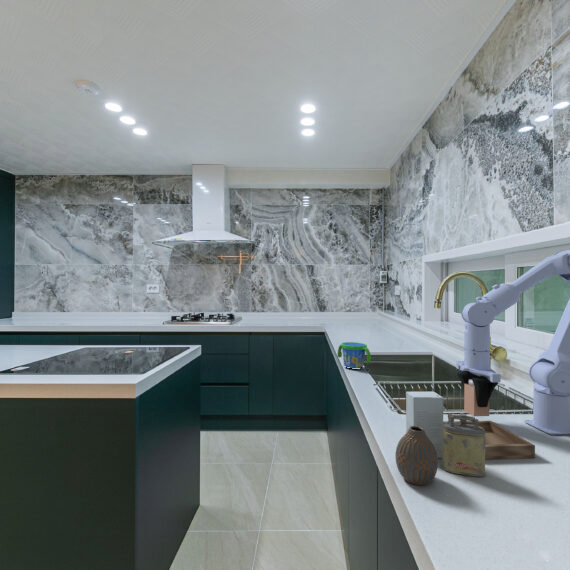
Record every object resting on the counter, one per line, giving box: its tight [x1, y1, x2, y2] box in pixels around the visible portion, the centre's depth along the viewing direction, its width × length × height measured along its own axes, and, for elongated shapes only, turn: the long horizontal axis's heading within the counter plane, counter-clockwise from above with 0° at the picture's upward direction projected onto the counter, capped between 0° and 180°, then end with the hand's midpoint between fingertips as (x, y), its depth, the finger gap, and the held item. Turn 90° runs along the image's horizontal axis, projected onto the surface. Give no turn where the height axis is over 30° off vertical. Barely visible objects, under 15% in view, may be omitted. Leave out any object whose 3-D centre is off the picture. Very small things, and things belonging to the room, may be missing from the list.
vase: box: [395, 426, 439, 486], centre depth 61 cm, size 7×7×9 cm
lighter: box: [441, 413, 486, 478], centre depth 63 cm, size 7×4×10 cm, turn 74°
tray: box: [443, 420, 536, 460], centre depth 75 cm, size 13×13×2 cm
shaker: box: [463, 379, 490, 417], centre depth 88 cm, size 4×4×8 cm
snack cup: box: [337, 341, 372, 368], centre depth 146 cm, size 16×10×10 cm
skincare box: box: [405, 391, 444, 459], centre depth 70 cm, size 6×4×12 cm
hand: (476, 403), depth 88 cm, fingers closed on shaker, 4 cm apart
